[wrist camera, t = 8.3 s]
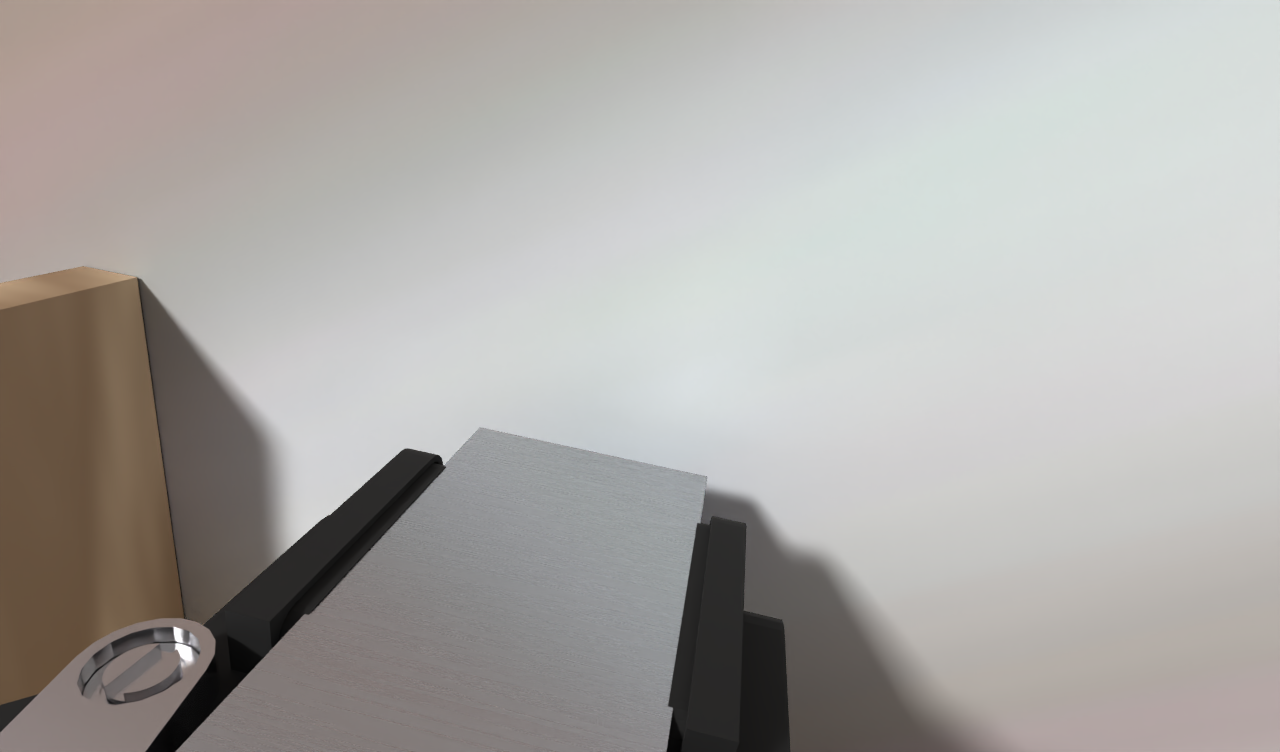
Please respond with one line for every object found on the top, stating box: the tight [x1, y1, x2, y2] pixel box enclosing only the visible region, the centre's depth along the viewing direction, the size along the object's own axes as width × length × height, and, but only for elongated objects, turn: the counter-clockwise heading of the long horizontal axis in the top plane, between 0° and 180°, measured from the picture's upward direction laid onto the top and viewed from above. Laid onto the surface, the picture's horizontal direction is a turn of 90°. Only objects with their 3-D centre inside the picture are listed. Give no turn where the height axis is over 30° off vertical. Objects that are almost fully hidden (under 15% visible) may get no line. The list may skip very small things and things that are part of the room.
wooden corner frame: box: [0, 266, 184, 705], centre depth 13 cm, size 18×12×4 cm, turn 82°
